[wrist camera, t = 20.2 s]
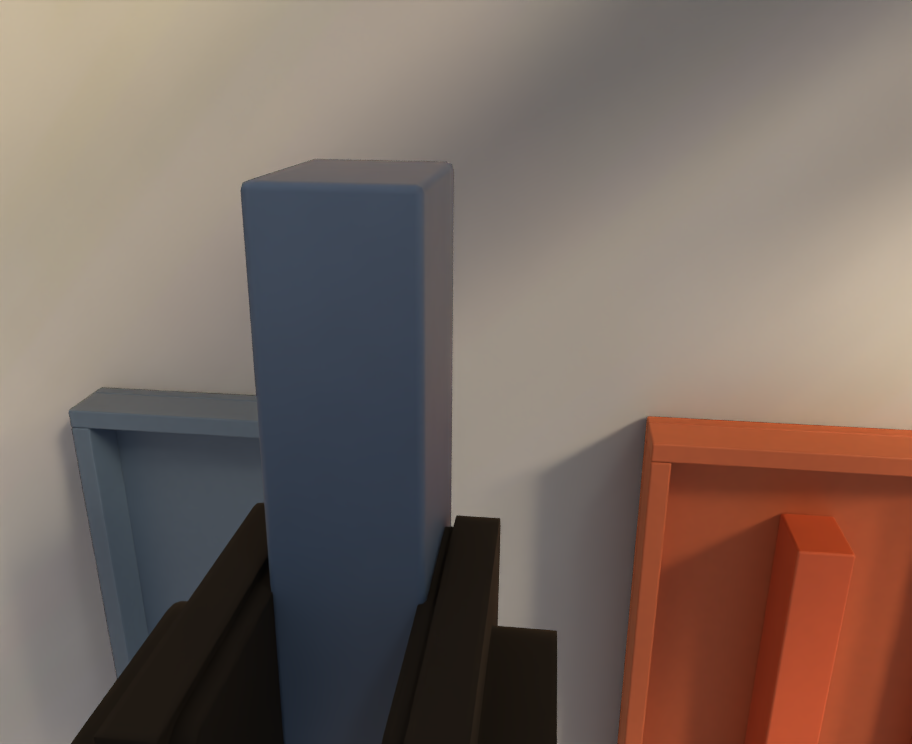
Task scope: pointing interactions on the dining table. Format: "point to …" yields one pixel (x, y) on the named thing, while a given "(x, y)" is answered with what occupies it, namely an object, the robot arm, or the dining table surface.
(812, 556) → the terracotta spoon
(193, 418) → the slate tray
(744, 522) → the terracotta tray
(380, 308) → the slate spoon
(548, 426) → the dining table surface
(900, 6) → the dining table surface
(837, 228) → the dining table surface
